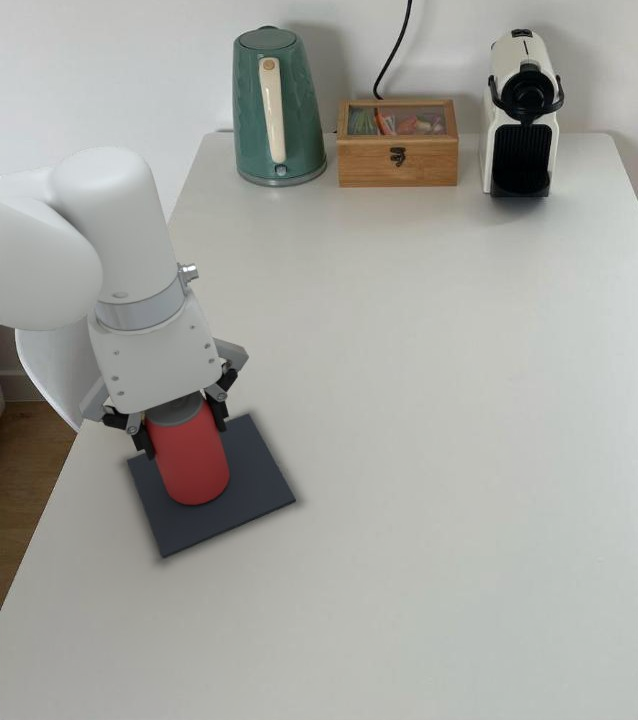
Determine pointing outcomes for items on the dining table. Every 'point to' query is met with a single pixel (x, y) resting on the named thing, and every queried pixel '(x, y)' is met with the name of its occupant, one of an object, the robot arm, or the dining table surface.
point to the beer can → (188, 448)
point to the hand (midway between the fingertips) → (183, 435)
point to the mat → (231, 507)
